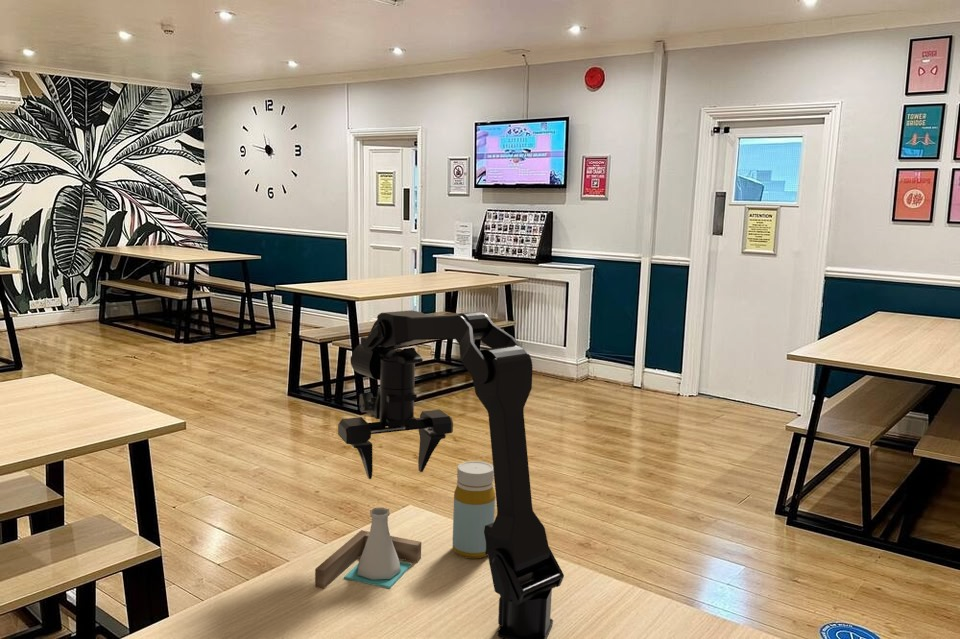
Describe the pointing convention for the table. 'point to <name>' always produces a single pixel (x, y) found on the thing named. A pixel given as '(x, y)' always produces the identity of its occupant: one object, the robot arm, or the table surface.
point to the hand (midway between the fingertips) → (395, 474)
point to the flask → (379, 549)
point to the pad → (378, 582)
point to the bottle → (473, 508)
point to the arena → (354, 550)
